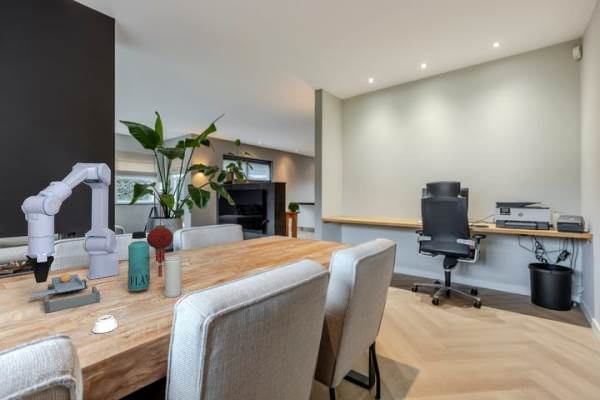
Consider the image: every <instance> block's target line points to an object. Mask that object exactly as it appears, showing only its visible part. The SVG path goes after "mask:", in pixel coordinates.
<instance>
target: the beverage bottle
mask: <svg viewBox="0 0 600 400" xmlns="http://www.w3.org/2000/svg"><path fill="white" fill-rule="evenodd" d="M131 234H132V235H131V239H134V240H136V241H132V242H130V244H128V246H127V248H128V250H127V251H128V252H127V253H128V254H127V255H128V256H127V257H128V258H127V260H128V263H127V264H128V265H127V267H128V268H127V289H128V290H129V291H132V292H133V291H142V290H147V288H149V287H150V284H151V282H150V280H151V275H150V272H151V268H150V263H151V260H150V259H151V256H150V254H151V253H150V247H151V246H150V244H149V243H148V242H147V240H145V241H144V240H142V239H147V233H146V231H133V232H132V233H131ZM137 240H139V241H137Z"/></svg>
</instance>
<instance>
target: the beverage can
mask: <svg viewBox="0 0 600 400" xmlns="http://www.w3.org/2000/svg"><path fill="white" fill-rule="evenodd" d="M181 294H182V259H181V256H171V257H167V258H165V260H164V296H165V297H166V298H169V299H173V298H177V297H179V296H180V295H181Z"/></svg>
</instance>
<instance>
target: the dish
mask: <svg viewBox="0 0 600 400" xmlns="http://www.w3.org/2000/svg"><path fill="white" fill-rule="evenodd" d="M43 296H44V297H43V298H44V299H43V300H44V301H43V302H44V312H45V313H44V314H49V313H55V312H60V311H63V310H69V309H73V308H79V307H83V306H87V305H93V304H97V303H98V304H99V303H100V302H101V299H100V298H101V293H100V291H99V290H98V288H97V287H96V286H95V285H93V286H91V293H89V294H83V295H78V296H72V297H67V298H62V299H55V300H51V301H50V297H49V296H48V294H46V295H43Z"/></svg>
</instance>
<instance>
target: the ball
mask: <svg viewBox="0 0 600 400" xmlns="http://www.w3.org/2000/svg"><path fill="white" fill-rule="evenodd" d="M71 275H72V274H70V273H63V274H61V276H59V277H60V281H61V282H68V281H70V279H71Z"/></svg>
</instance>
